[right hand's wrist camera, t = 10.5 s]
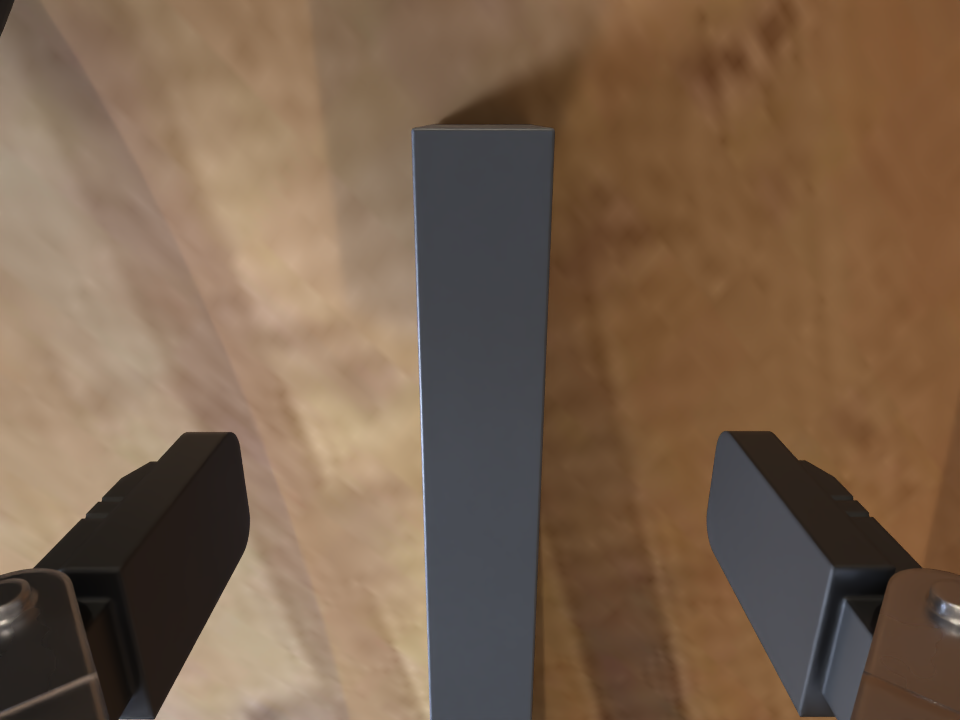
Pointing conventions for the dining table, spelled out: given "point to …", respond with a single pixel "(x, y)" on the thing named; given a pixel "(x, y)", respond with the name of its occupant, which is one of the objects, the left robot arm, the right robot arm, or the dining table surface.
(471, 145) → the post
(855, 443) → the dining table surface
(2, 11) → the sphere
